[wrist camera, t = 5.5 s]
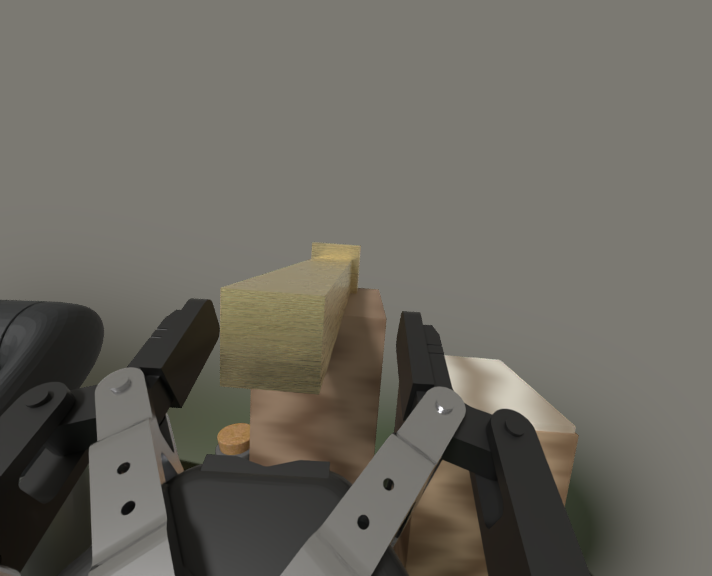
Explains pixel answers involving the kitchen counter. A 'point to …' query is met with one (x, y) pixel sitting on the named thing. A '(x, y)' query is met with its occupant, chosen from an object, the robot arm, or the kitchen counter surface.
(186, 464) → the kitchen counter surface
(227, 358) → the tan wooden bar
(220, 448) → the bottle
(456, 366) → the stepped wooden block
